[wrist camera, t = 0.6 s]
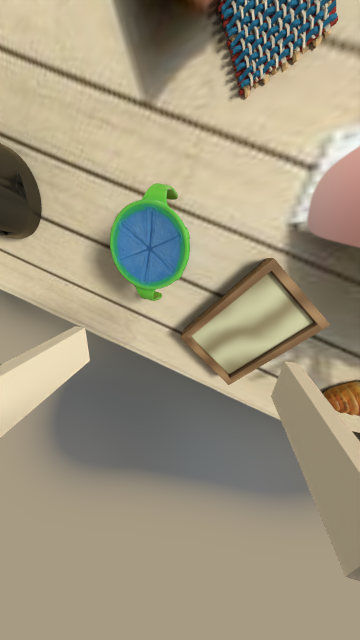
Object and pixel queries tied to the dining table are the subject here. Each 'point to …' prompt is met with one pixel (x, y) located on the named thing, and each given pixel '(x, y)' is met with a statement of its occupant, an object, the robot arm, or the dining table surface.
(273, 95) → the dining table surface
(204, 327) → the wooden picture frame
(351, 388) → the pastry
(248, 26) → the woven mat
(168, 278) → the snack cup
